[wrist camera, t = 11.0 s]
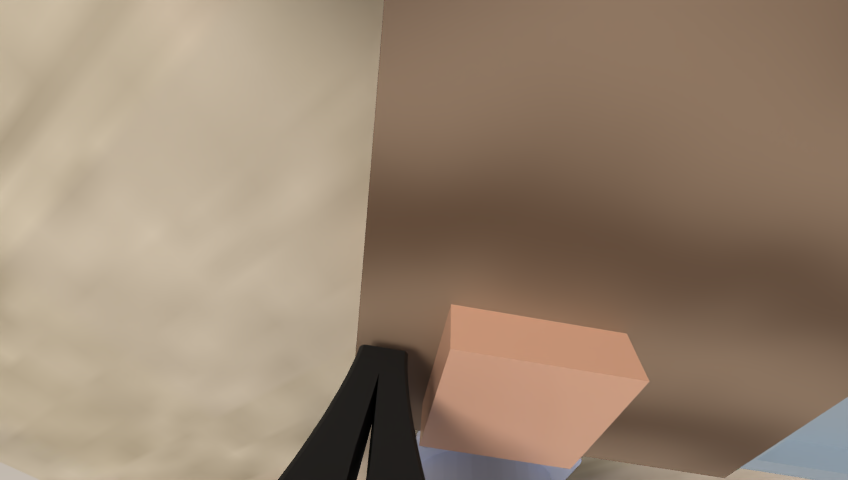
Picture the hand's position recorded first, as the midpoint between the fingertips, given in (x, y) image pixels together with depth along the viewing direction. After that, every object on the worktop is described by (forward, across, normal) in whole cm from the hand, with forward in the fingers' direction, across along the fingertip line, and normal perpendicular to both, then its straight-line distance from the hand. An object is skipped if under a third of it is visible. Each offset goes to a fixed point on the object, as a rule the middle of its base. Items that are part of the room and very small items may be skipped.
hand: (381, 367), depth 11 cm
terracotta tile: (+1, -4, 0) cm, 4 cm away
